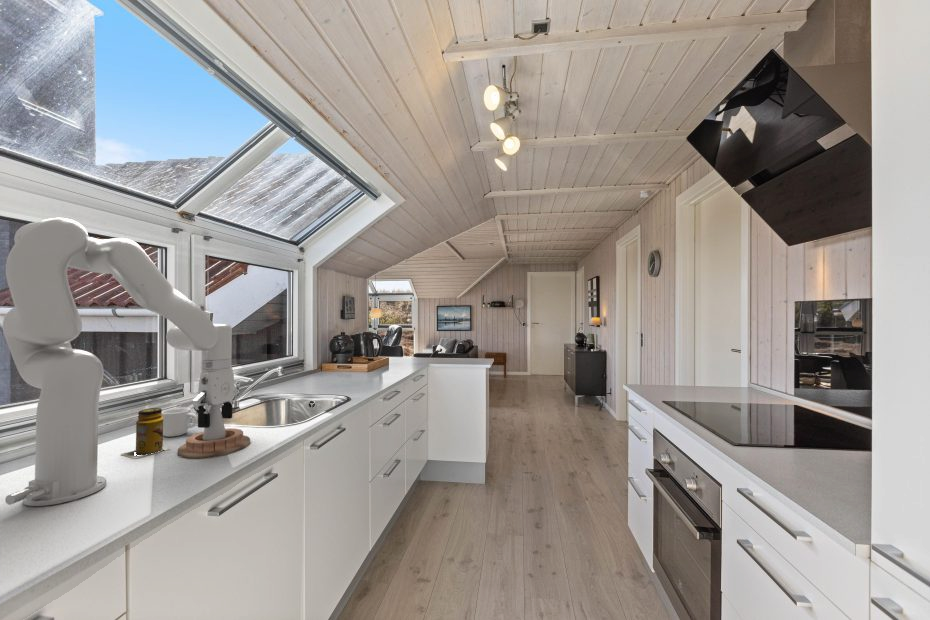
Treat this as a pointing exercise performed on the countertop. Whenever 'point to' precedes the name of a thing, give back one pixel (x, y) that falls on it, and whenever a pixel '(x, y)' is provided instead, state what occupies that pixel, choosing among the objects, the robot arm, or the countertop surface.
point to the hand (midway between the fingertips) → (215, 422)
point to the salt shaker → (215, 425)
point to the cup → (177, 421)
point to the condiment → (148, 433)
